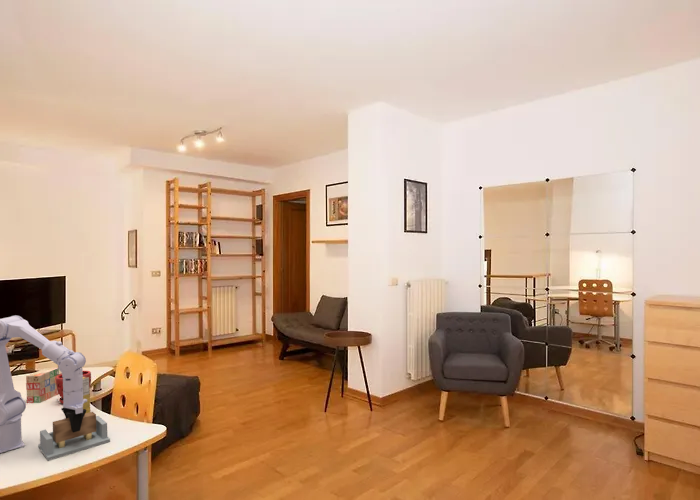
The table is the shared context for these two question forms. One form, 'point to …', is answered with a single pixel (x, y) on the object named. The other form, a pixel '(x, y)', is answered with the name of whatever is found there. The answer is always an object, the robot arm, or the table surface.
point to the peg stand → (73, 441)
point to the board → (64, 430)
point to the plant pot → (60, 383)
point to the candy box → (86, 394)
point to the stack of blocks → (42, 385)
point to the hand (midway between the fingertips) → (74, 429)
